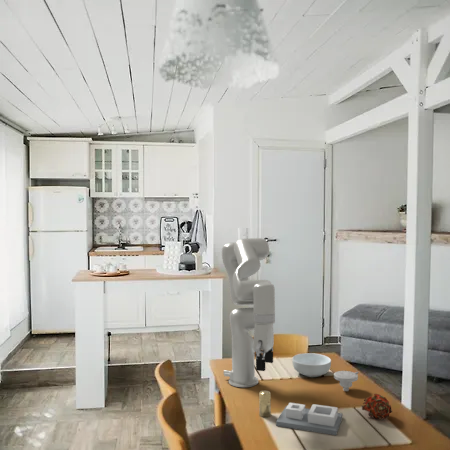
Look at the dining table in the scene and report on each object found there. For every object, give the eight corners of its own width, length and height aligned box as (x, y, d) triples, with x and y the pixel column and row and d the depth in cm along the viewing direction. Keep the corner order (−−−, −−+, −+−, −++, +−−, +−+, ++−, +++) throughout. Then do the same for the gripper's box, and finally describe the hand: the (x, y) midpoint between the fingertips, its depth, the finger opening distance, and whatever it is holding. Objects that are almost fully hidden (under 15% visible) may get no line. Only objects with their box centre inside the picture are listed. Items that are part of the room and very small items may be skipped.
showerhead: (362, 375, 188) (338, 376, 187) (363, 393, 188) (338, 395, 187) (354, 368, 197) (330, 368, 196) (354, 385, 197) (330, 386, 196)
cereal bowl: (285, 376, 209) (285, 360, 209) (302, 366, 223) (302, 351, 223) (321, 383, 200) (321, 366, 200) (336, 372, 213) (336, 356, 213)
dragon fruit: (387, 429, 160) (365, 420, 171) (402, 411, 163) (380, 403, 174) (373, 411, 159) (352, 403, 170) (388, 392, 162) (366, 386, 173)
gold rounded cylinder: (258, 416, 168) (257, 393, 168) (261, 411, 172) (261, 390, 172) (268, 418, 167) (268, 395, 167) (272, 413, 170) (271, 391, 170)
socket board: (276, 425, 161) (276, 412, 160) (286, 409, 174) (286, 397, 174) (336, 435, 153) (336, 421, 153) (342, 417, 166) (342, 404, 166)
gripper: (261, 313, 178) (261, 358, 178) (246, 322, 162) (246, 372, 162) (280, 314, 175) (281, 360, 175) (267, 324, 159) (268, 375, 159)
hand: (264, 366), depth 169 cm, fingers open, 9 cm apart
